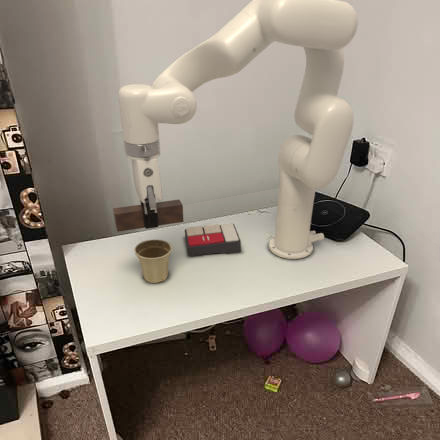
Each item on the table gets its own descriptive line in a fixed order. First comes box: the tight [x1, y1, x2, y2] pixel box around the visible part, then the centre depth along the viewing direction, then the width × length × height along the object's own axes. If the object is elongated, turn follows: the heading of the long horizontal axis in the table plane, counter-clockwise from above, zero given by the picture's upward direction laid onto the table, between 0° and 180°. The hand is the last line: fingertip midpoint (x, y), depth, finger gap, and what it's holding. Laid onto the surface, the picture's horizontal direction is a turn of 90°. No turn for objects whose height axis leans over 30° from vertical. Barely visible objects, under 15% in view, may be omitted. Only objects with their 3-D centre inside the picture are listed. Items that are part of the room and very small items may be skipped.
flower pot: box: [133, 239, 173, 284], centre depth 113 cm, size 9×9×9 cm
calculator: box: [184, 222, 242, 257], centre depth 127 cm, size 11×4×15 cm
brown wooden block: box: [112, 199, 184, 233], centre depth 104 cm, size 16×3×5 cm, turn 109°
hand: (150, 223), depth 106 cm, fingers closed on brown wooden block, 3 cm apart
